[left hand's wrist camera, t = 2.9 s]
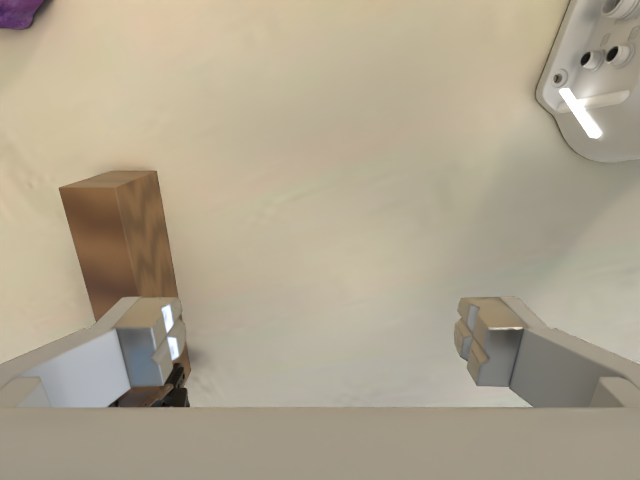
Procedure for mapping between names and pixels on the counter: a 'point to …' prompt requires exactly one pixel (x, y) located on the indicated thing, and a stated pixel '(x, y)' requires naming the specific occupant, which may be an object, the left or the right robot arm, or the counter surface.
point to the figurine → (17, 13)
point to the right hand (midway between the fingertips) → (157, 368)
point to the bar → (122, 246)
